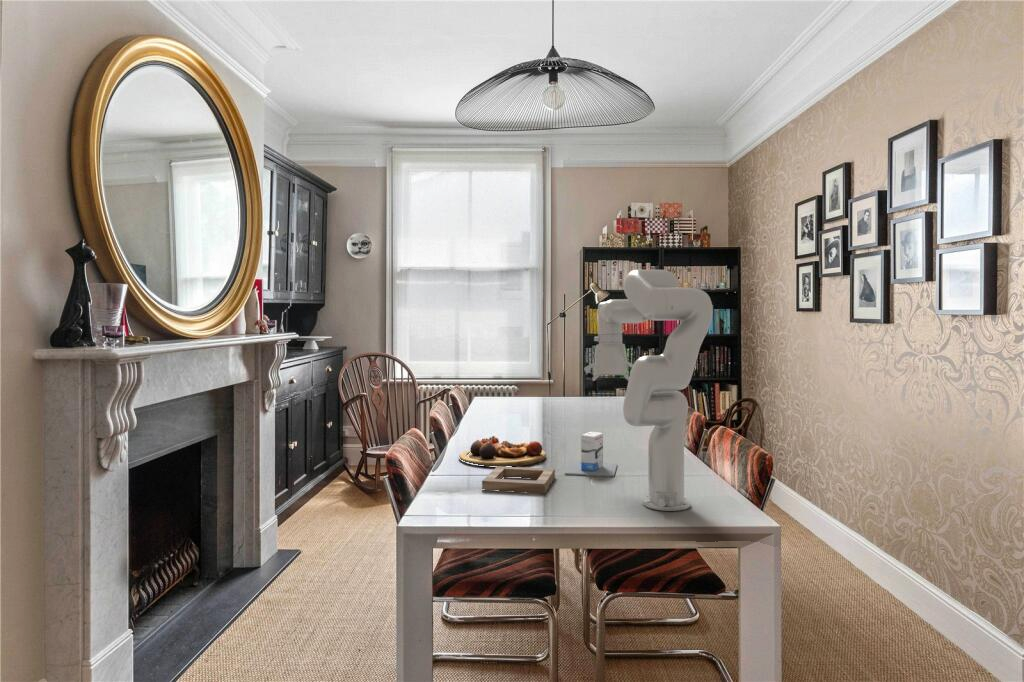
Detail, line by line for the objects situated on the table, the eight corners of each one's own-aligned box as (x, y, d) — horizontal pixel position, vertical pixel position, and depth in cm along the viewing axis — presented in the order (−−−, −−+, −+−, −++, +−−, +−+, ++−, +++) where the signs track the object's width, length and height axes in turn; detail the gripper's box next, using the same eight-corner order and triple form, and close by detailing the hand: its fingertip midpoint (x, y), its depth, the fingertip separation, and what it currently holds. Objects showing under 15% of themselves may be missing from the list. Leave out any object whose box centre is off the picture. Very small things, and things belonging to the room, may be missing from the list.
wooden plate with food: (562, 456, 238) (562, 434, 238) (511, 472, 213) (510, 448, 212) (495, 448, 257) (495, 428, 257) (441, 462, 232) (440, 440, 232)
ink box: (594, 472, 210) (594, 436, 210) (580, 470, 212) (580, 435, 212) (603, 466, 217) (603, 432, 217) (590, 465, 220) (589, 431, 219)
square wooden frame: (544, 494, 187) (544, 483, 187) (482, 490, 191) (482, 480, 191) (554, 477, 205) (554, 468, 205) (497, 475, 210) (497, 466, 209)
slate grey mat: (613, 477, 206) (614, 475, 206) (564, 474, 209) (564, 473, 209) (617, 465, 221) (617, 463, 221) (571, 463, 225) (571, 462, 225)
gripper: (582, 340, 204) (583, 394, 204) (637, 339, 201) (638, 393, 201) (584, 340, 212) (585, 392, 212) (637, 339, 208) (639, 391, 208)
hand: (611, 392), depth 206 cm, fingers open, 9 cm apart
